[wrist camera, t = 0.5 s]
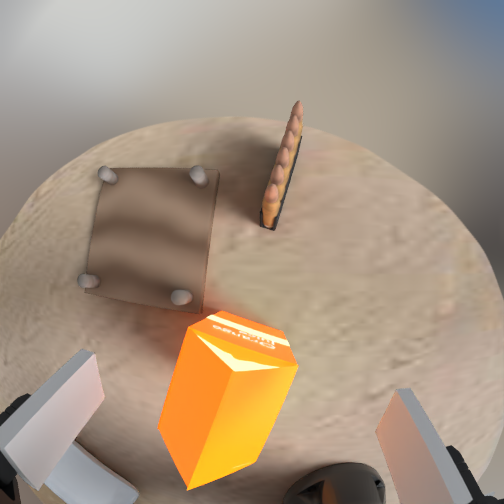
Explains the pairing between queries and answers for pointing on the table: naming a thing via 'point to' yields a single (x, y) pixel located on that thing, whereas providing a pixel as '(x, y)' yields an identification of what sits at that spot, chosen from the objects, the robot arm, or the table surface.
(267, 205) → the ammunition clip
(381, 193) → the table surface
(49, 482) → the salad plate
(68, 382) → the robot arm
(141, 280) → the peg stand
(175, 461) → the orange juice
